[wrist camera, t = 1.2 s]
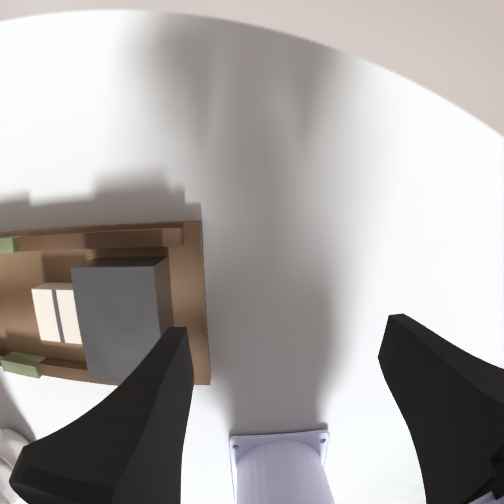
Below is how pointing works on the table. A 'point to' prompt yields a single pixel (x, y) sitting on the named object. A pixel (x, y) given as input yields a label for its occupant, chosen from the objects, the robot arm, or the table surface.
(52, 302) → the cream square block
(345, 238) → the table surface
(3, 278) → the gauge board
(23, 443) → the plastic bottle
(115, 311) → the grey rectangular block
